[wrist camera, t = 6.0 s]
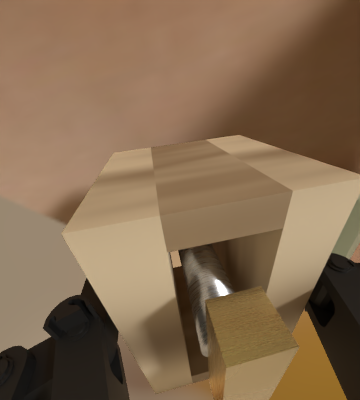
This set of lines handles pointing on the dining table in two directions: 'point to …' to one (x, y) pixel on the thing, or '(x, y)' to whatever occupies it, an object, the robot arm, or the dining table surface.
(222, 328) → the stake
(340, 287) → the robot arm
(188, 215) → the slotted wooden block
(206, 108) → the dining table surface
